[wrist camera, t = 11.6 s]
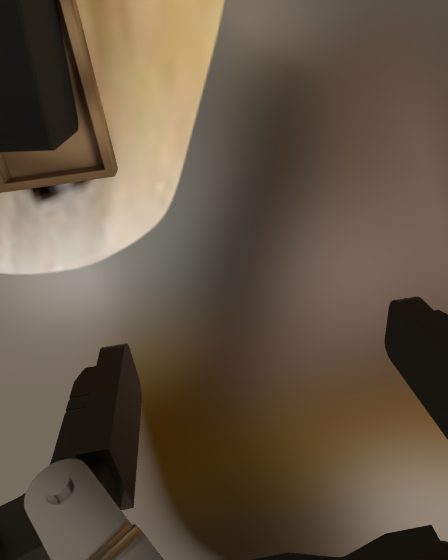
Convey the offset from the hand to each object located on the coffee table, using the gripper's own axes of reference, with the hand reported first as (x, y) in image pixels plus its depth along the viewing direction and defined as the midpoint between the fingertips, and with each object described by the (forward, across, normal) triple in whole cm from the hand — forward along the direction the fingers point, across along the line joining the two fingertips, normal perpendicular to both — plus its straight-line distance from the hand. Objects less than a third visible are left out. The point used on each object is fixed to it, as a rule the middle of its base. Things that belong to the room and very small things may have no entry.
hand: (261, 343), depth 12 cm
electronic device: (+30, +12, -8) cm, 33 cm away
